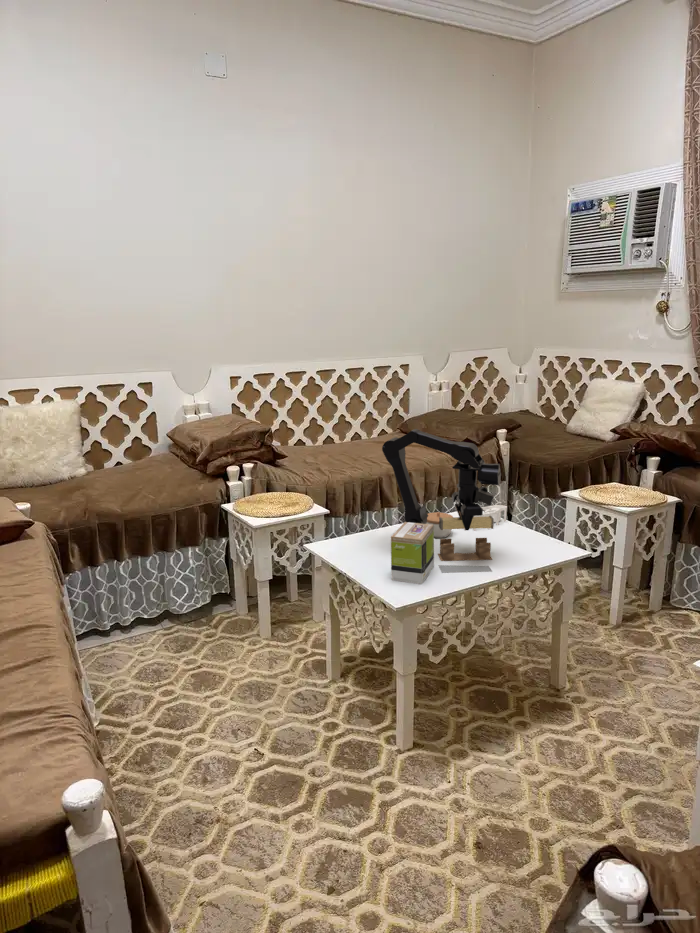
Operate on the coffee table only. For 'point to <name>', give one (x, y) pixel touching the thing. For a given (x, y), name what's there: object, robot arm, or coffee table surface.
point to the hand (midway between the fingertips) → (465, 528)
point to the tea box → (412, 552)
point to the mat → (463, 568)
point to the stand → (480, 553)
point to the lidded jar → (434, 519)
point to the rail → (458, 524)
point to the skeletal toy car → (494, 513)
